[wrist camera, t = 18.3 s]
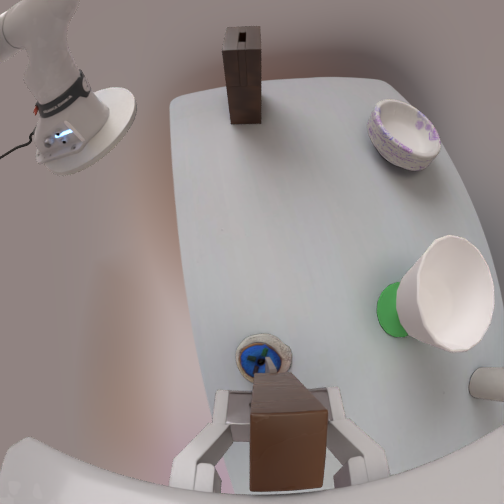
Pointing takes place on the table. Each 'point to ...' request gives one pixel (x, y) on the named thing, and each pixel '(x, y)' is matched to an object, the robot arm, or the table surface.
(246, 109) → the knife block
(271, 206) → the table surface
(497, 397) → the paper towel roll
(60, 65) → the robot arm
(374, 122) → the paper bowls
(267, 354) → the dessert
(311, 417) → the knife
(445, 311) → the cup
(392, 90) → the table surface
